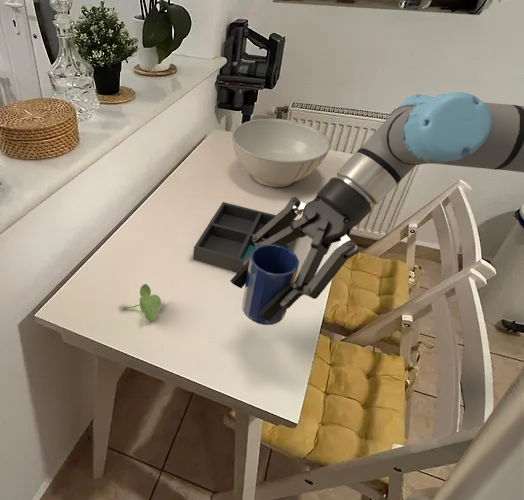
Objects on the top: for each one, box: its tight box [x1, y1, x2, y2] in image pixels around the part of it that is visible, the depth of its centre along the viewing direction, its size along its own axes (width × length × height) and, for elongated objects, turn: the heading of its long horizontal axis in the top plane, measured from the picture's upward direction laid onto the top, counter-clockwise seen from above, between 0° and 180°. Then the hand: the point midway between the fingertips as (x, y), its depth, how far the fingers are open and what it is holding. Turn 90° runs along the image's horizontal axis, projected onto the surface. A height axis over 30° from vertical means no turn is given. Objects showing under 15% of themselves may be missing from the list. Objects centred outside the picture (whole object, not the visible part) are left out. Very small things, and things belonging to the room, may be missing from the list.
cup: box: [241, 244, 300, 326], centre depth 69 cm, size 7×7×11 cm
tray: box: [192, 201, 297, 273], centre depth 100 cm, size 20×20×4 cm
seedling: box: [122, 283, 162, 322], centre depth 84 cm, size 7×8×7 cm
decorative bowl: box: [231, 118, 331, 188], centre depth 123 cm, size 27×27×12 cm
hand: (249, 300), depth 69 cm, fingers closed on cup, 7 cm apart
